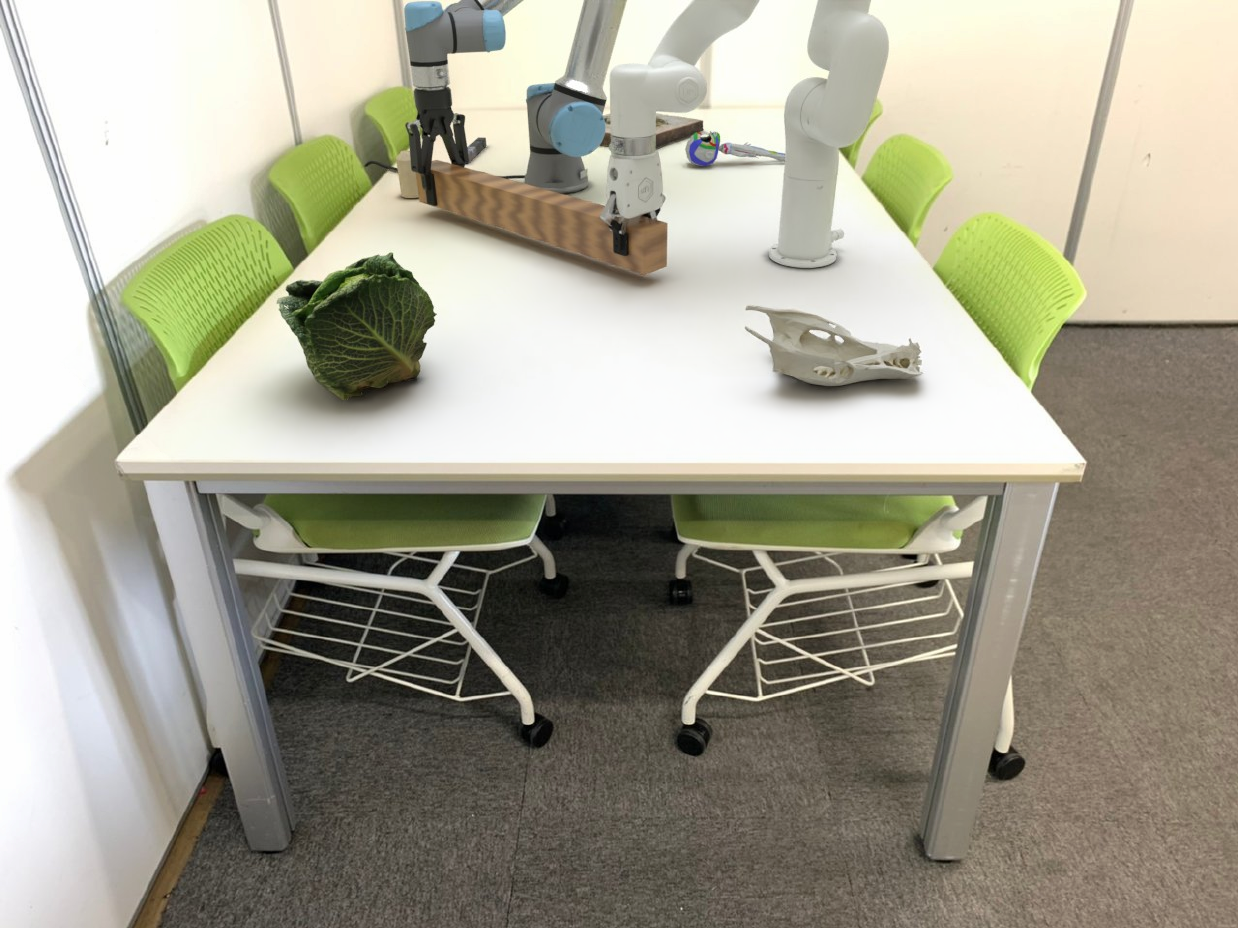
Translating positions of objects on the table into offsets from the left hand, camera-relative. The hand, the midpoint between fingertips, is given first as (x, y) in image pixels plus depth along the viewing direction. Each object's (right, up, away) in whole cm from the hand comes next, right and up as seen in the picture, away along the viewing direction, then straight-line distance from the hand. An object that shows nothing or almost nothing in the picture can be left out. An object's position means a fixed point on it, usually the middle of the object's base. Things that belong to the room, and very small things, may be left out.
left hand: (444, 201), depth 194 cm
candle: (-10, +6, +16) cm, 20 cm away
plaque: (+42, +38, +65) cm, 86 cm away
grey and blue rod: (-2, +27, +48) cm, 55 cm away
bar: (+20, -11, -16) cm, 28 cm away
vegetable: (+2, -45, -66) cm, 80 cm away
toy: (+70, +20, +36) cm, 81 cm away
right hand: (+40, -19, -35) cm, 56 cm away
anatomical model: (+68, -45, -66) cm, 105 cm away
